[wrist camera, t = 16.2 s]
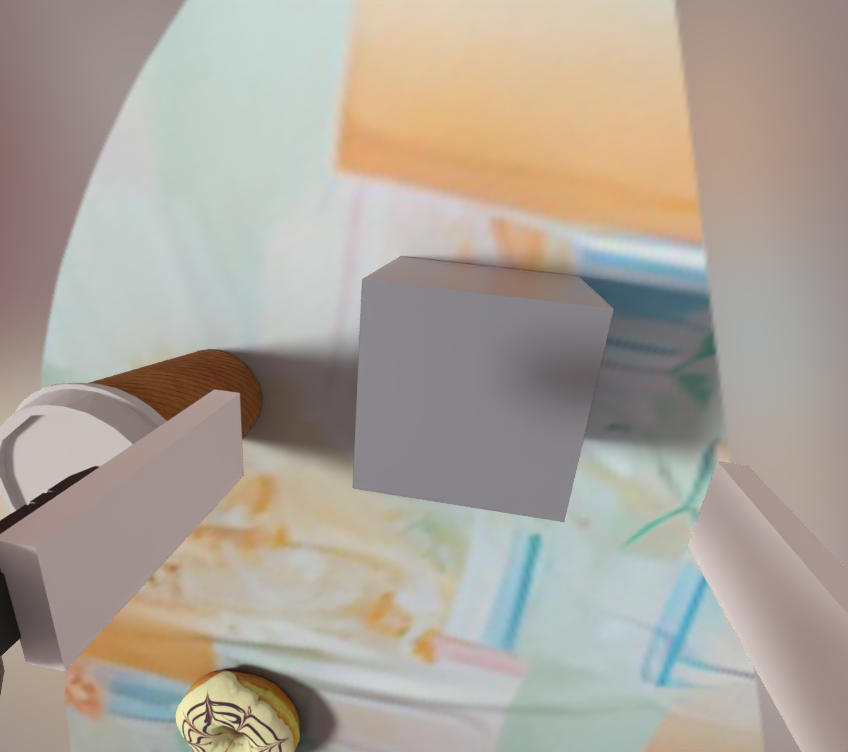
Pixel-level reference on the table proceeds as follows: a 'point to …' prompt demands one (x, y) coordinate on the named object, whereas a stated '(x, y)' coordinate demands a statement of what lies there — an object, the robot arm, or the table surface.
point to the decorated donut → (237, 715)
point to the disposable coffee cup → (109, 418)
